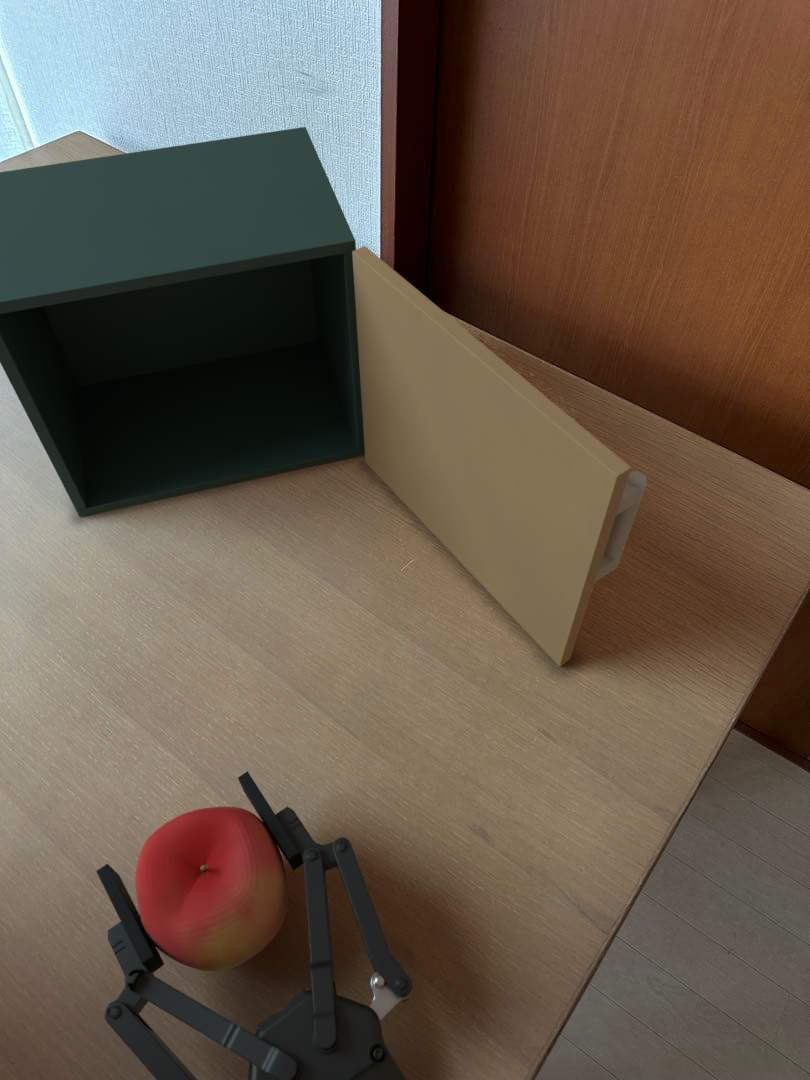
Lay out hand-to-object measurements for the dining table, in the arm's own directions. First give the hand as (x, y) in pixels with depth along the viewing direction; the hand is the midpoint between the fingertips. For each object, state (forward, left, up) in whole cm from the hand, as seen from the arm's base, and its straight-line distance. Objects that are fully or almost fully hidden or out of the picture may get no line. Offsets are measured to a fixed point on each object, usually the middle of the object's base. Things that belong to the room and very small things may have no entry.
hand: (179, 826), depth 55 cm
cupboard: (+8, +43, -6) cm, 44 cm away
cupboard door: (+29, +21, -6) cm, 36 cm away
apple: (+2, -4, -6) cm, 8 cm away
